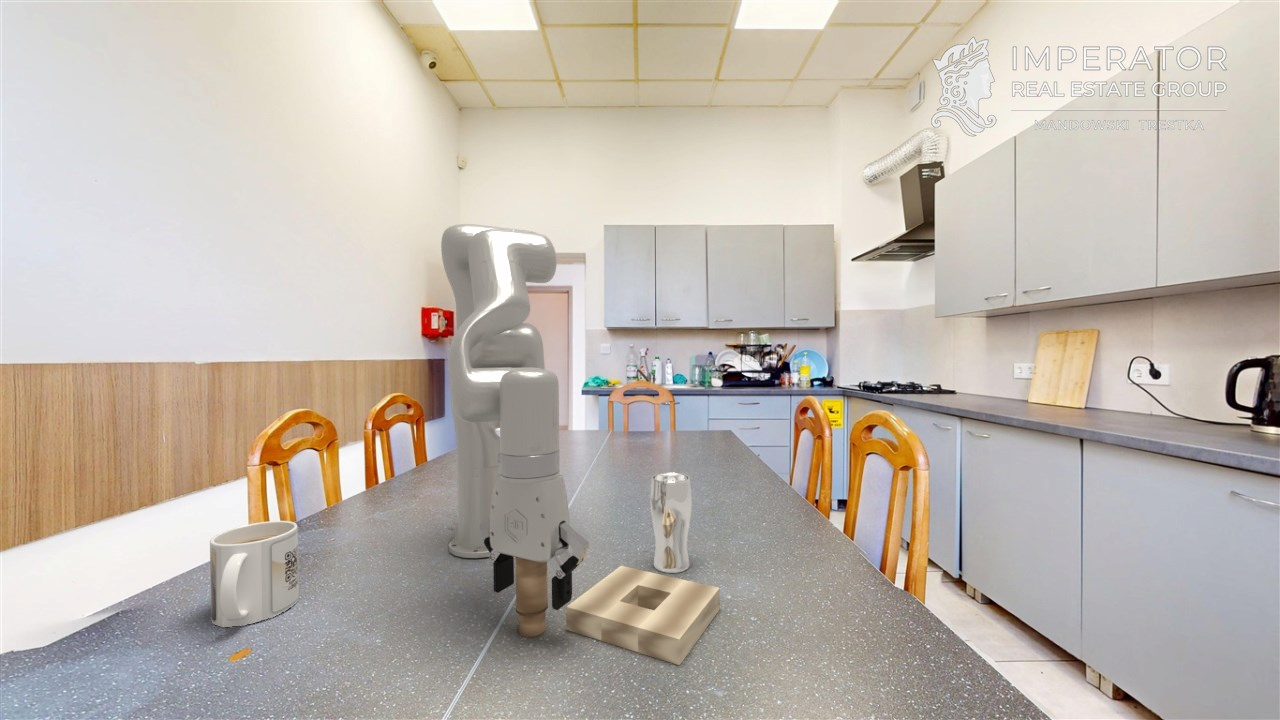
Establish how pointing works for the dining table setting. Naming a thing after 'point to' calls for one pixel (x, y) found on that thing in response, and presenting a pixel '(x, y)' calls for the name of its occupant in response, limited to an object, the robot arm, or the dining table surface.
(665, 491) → the beer glass
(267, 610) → the mug
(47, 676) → the dining table surface
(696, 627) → the board
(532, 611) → the peg
